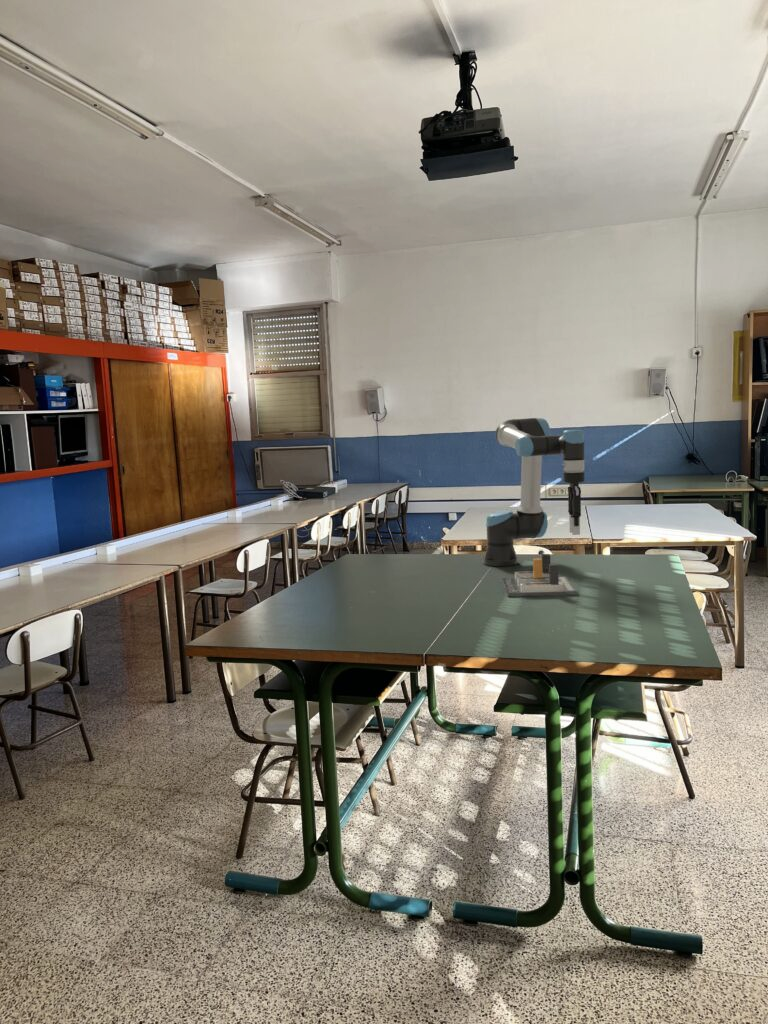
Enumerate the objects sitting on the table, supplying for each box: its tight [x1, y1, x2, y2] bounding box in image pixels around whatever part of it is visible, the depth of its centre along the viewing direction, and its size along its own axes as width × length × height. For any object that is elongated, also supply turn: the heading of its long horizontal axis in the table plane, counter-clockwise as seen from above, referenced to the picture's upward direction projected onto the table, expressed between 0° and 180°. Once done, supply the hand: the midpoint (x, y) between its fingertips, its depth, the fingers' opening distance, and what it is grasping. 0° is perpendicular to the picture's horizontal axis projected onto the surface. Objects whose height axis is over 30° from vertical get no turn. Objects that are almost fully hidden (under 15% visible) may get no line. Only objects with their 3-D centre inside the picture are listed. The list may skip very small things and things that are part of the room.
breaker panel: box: [501, 553, 578, 598], centre depth 284 cm, size 25×25×11 cm
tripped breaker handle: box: [532, 557, 542, 578], centre depth 284 cm, size 2×3×7 cm
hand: (574, 533), depth 281 cm, fingers open, 5 cm apart
